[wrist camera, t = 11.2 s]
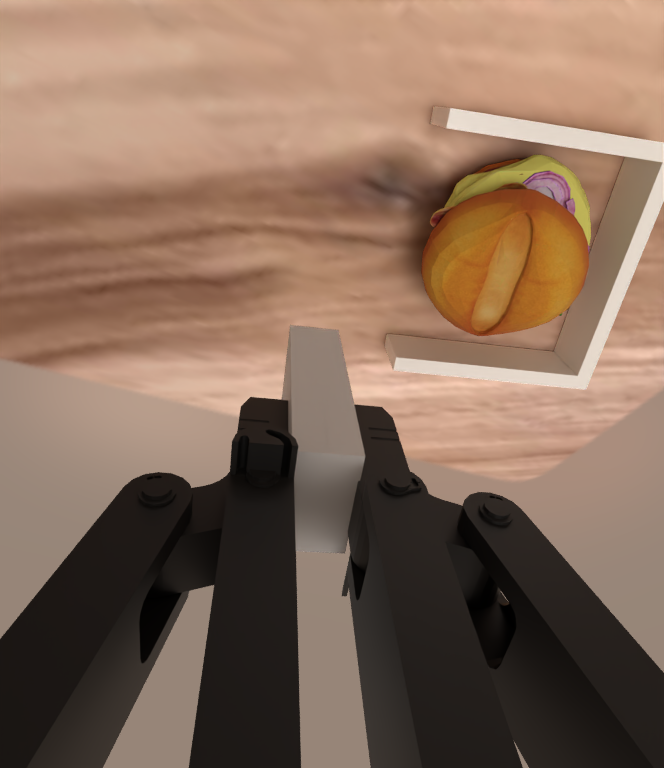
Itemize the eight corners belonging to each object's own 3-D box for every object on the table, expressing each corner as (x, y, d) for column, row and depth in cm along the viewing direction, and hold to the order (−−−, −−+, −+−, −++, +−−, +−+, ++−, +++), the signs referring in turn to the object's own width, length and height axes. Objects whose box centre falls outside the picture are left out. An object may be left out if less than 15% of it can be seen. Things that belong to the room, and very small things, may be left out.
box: (384, 346, 40) (393, 370, 37) (433, 105, 33) (450, 107, 29) (561, 364, 42) (585, 389, 39) (646, 140, 35) (686, 146, 31)
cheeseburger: (597, 263, 38) (641, 334, 30) (450, 312, 42) (454, 386, 34) (565, 118, 34) (607, 157, 26) (402, 188, 37) (393, 241, 29)
